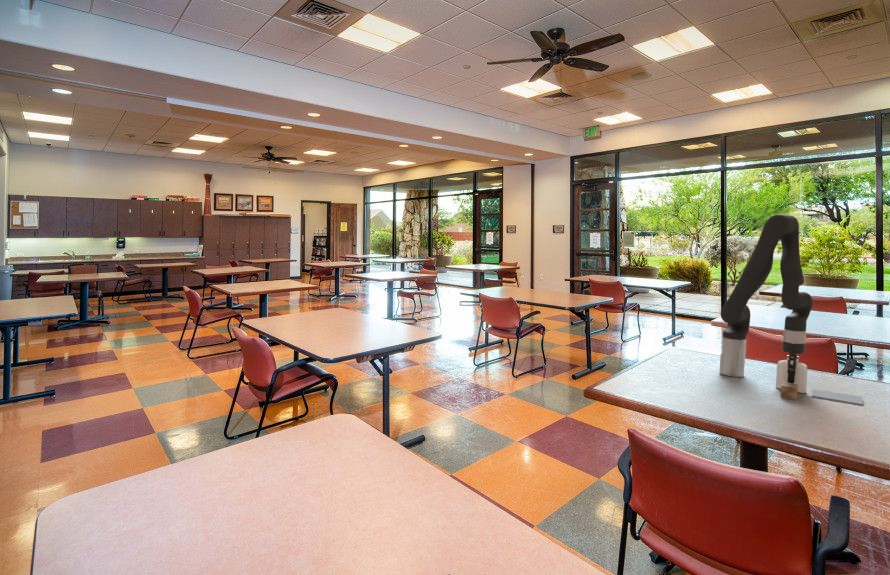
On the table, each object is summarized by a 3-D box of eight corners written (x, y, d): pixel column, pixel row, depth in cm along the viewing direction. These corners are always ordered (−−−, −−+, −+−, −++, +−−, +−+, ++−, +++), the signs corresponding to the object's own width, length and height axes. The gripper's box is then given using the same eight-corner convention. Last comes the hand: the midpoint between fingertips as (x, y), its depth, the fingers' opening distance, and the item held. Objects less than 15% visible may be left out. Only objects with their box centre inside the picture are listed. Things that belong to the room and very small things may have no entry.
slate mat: (811, 396, 181) (811, 395, 181) (812, 390, 188) (812, 388, 188) (863, 405, 171) (863, 404, 171) (861, 398, 179) (861, 396, 179)
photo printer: (774, 388, 191) (776, 359, 190) (777, 385, 194) (779, 357, 193) (804, 394, 184) (806, 364, 182) (807, 392, 186) (809, 362, 185)
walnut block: (780, 397, 181) (781, 385, 180) (781, 394, 184) (782, 382, 184) (796, 400, 177) (797, 388, 177) (797, 396, 181) (798, 384, 181)
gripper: (784, 336, 194) (781, 375, 196) (781, 342, 183) (778, 383, 185) (806, 338, 190) (803, 378, 192) (805, 345, 179) (801, 387, 181)
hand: (791, 380), depth 188 cm, fingers closed on photo printer, 4 cm apart
